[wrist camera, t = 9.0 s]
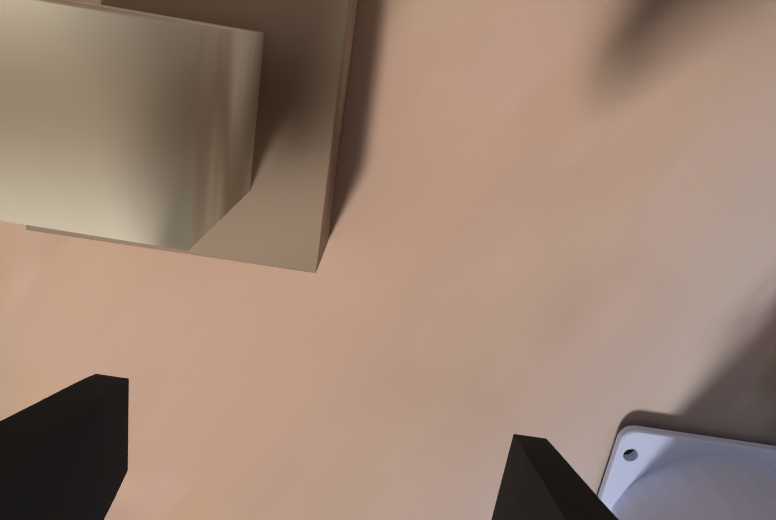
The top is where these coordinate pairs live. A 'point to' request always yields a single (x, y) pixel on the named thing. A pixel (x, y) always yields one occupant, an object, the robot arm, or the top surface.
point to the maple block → (124, 120)
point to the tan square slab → (278, 127)
